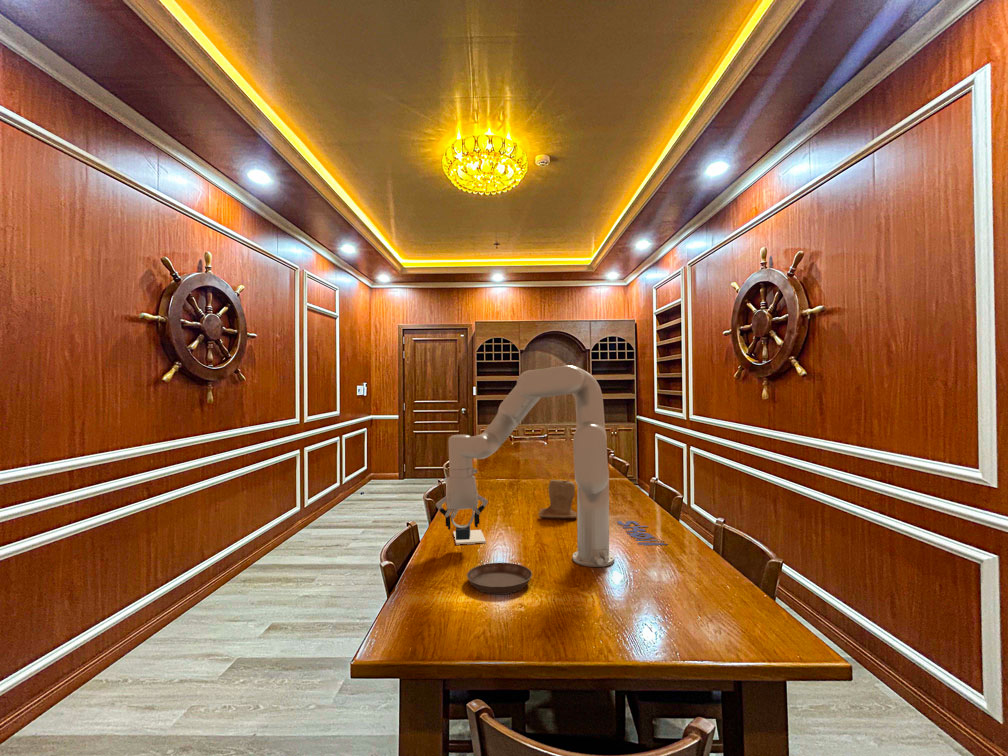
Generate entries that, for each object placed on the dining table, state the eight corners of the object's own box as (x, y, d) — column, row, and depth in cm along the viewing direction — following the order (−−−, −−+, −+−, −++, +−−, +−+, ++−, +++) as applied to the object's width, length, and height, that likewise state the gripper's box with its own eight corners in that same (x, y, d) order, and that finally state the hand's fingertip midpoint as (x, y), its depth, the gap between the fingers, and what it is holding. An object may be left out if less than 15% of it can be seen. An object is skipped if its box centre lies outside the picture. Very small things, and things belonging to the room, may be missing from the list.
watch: (451, 534, 166) (450, 501, 166) (475, 534, 166) (474, 500, 166) (449, 540, 160) (448, 505, 160) (475, 539, 160) (473, 504, 160)
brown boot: (576, 513, 208) (575, 477, 208) (577, 521, 196) (577, 483, 196) (539, 513, 210) (539, 476, 210) (538, 520, 198) (538, 482, 198)
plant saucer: (459, 577, 142) (459, 566, 142) (517, 568, 148) (517, 558, 148) (478, 603, 126) (478, 590, 126) (543, 592, 132) (543, 580, 132)
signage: (615, 520, 196) (640, 520, 196) (615, 522, 196) (640, 522, 196) (638, 544, 168) (668, 543, 168) (638, 546, 168) (668, 545, 168)
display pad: (485, 543, 171) (485, 540, 171) (456, 545, 169) (456, 542, 169) (480, 531, 183) (480, 529, 183) (453, 533, 182) (453, 531, 182)
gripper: (486, 469, 168) (487, 522, 168) (433, 472, 165) (435, 526, 165) (489, 473, 161) (491, 528, 161) (434, 477, 158) (436, 533, 158)
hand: (462, 527), depth 163 cm, fingers closed on watch, 8 cm apart
